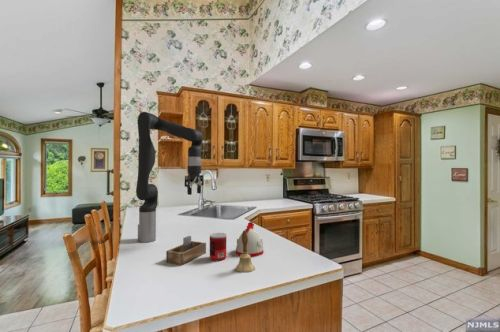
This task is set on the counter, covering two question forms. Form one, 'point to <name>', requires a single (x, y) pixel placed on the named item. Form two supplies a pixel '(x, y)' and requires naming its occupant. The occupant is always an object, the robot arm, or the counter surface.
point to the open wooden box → (185, 253)
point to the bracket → (186, 243)
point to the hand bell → (245, 257)
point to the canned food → (217, 246)
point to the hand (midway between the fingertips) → (194, 193)
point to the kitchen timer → (250, 242)
